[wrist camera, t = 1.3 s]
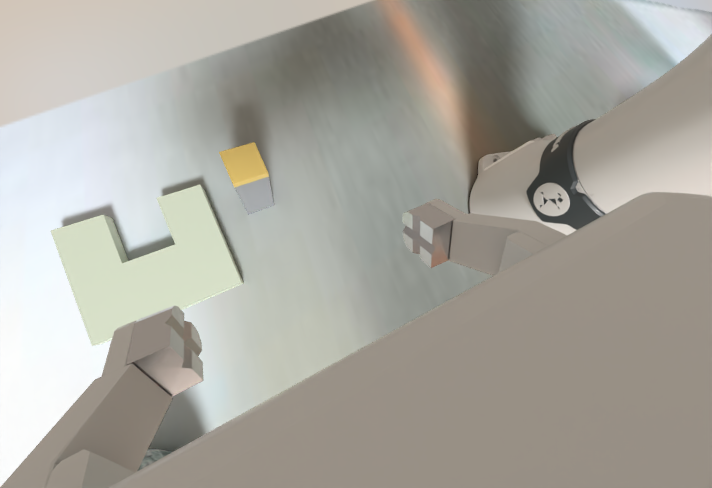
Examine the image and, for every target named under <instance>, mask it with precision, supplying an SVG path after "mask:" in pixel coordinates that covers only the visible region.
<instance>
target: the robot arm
mask: <svg viewBox="0 0 712 488" xmlns="http://www.w3.org/2000/svg"><path fill="white" fill-rule="evenodd" d="M493 161H494V162H493ZM402 222H403V223H404V224H405V225H406V226H405V228H404V230H403V239H404V242H405V244H406V246H407V247H408V249H409V250H410V251H411V252H413V253H416V254H420V259H421V260H422V261H423V262H424V263H425V264H427V265H428V266H429V267H430V268H433V267H435V266H437V265H439V264H441V263H443V262H446V261H448V260H449V261H451V262H454V263H457V264H460V265H463V266H466V267H469V268H472V269H475V270H478V271H481V272H484V273H487V274H490V275H493V276H492V277H490V278H489V279H487V280H485V281H483V282H481V283H479V284H478V285H476V286H474V287H472V288H470V289H469V290H467V291H465V292H463V293H461V294H459V295H458V296H456V297H454V298H452V299H450V300H449V301H447V302H445V303H443V304H441V305H439V306H438V307H436V308H434V309H432V310H430V311H429V312H427V313H425V314H423V315H421V316H419V317H418V318H416V319H414V320H412V321H410V322H408V323H407V324H405V325H403V326H401V327H399V328H398V329H396V330H394V331H392V332H390V333H388V334H387V335H385V336H383V337H381V338H379V339H378V340H376V341H374V342H372V343H370V344H368V345H367V346H365V347H363V348H361V349H359V350H357V351H356V352H354V353H352V354H350V355H348V356H347V357H345V358H343V359H341V360H339V361H337V362H336V363H334V364H332V365H330V366H328V367H327V368H325V369H323V370H321V371H319V372H317V373H316V374H314V375H312V376H310V377H308V378H306V379H305V380H303V381H301V382H299V383H297V384H296V385H294V386H292V387H290V388H288V389H286V390H285V391H283V392H281V393H279V394H277V395H276V396H274V397H272V398H270V399H268V400H266V401H265V402H263V403H261V404H259V405H257V406H256V407H254V408H252V409H250V410H248V411H246V412H245V413H243V414H241V415H239V416H237V417H235V418H234V419H232V420H230V421H228V422H226V423H225V424H223V425H221V426H219V427H217V428H215V429H214V430H212V431H210V432H208V433H206V434H205V435H203V436H201V437H199V438H197V439H195V440H194V441H192V442H190V443H188V444H186V445H185V446H183V447H181V448H179V449H177V450H175V451H174V452H172V453H170V454H168V455H166V456H164V457H163V458H161V459H159V460H157V461H155V462H154V463H152V464H150V465H148V466H146V467H144V468H143V469H141V470H139V471H138V469H139V467H140V465H141V462H142V460H143V458H144V456H145V454H146V452H147V450H148V448H149V446H150V444H151V442H152V440H153V438H154V436H155V434H156V432H157V430H158V428H159V426H160V424H161V422H162V420H163V418H164V416H165V414H166V412H167V410H168V408H169V406H170V404H171V401H172V399H173V398H172V397H173V396H175V395H177V394H179V393H181V392H183V391H184V390H186V389H188V388H190V387H192V386H194V385H196V384H198V383H200V382H202V381H203V362H202V361H201V360H200V358H199V357H198V356H199V354H200V352H201V351H202V345H201V340H200V337H199V333H198V332H197V330H196V328H195V327H194V325H193V324H192V323H191V322H187V321H184V313H183V312H182V310H181V309H180V308H179V307H178V306H172V307H169V308H167V309H164V310H162V311H159V312H156V313H154V314H151V315H149V316H146V317H143V318H141V319H138V320H137V321H133V322H131V323H128V324H126V325H123V326H121V327H118V328H117V329H116V330H115V331H114V333H113V337H112V341H111V344H110V348H109V352H108V355H107V359H106V363H105V366H104V370H103V373H102V377H100V378H98V379H95V380H94V381H93V383H92V384H91V385H90V386H89V387H88V388H87V389H86V390H85V392H84V393H83V394H82V395H81V396H80V397H79V398H78V400H77V401H76V402H75V403H74V404H73V405H72V406H71V408H70V409H69V410H68V411H67V412H66V413H65V414H64V416H63V417H62V418H61V419H60V420H59V421H58V422H57V424H56V425H55V426H54V427H53V428H52V429H51V430H50V431H49V433H48V434H47V435H46V436H45V437H44V438H43V439H42V441H41V442H40V443H39V444H38V445H37V446H36V447H35V449H34V450H33V451H32V452H31V453H30V454H29V455H28V457H27V458H26V459H25V460H24V461H23V462H22V463H21V465H20V466H19V467H18V468H17V469H16V470H15V471H14V472H13V474H12V475H11V476H10V477H9V478H8V479H7V480H6V482H5V483H4V484H3V485H2V486H1V487H0V488H712V34H711V35H710V36H709V37H708V38H707V39H706V40H705V41H704V42H703V43H702V44H701V45H700V46H699V47H698V48H696V49H695V50H694V51H693V52H692V53H691V54H690V55H688V56H687V57H686V58H685V59H684V60H682V61H681V62H680V63H679V64H677V65H676V66H675V67H673V68H672V69H671V70H670V71H668V72H667V73H665V74H664V75H663V76H661V77H660V78H658V79H657V80H655V81H654V82H653V83H651V84H650V85H648V86H647V87H645V88H644V89H642V90H641V91H639V92H638V93H636V94H635V95H633V96H632V97H630V98H629V99H627V100H626V101H624V102H623V103H621V104H620V105H618V106H616V107H615V108H613V109H612V110H610V111H609V112H607V113H605V114H604V115H602V116H600V117H599V118H597V119H591V120H588V121H585V122H583V123H581V124H579V125H577V126H575V127H572V128H570V129H569V130H567V131H565V132H564V133H562V134H561V135H560V136H559V137H556V135H555V134H551V135H548V136H546V137H544V138H542V139H541V138H536V139H534V140H531V141H529V142H527V143H525V144H523V145H522V146H520V147H518V148H517V149H515V150H513V151H509V152H502V153H495V154H488V155H485V156H484V157H482V158H480V160H479V163H478V177H477V179H476V181H475V183H474V185H473V188H472V191H471V195H470V213H469V214H465V213H463V212H462V211H460V210H458V209H456V208H454V207H452V206H451V205H449V204H447V203H445V202H443V201H442V200H440V199H434V200H432V201H430V202H427V203H425V204H424V205H421V206H419V207H417V208H414V209H412V210H409V211H407V212H404V213H403V216H402Z"/></svg>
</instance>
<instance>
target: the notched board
mask: <svg viewBox="0 0 712 488" xmlns="http://www.w3.org/2000/svg"><path fill="white" fill-rule="evenodd" d="M157 200H158V203H159V205H160V208H161V210H162V213H163V215H164V218H165V220H166V223H167V225H168V228H169V230H170V233H171V235H172V238H173V240H174V243H175V245H172V246H169V247H166V248H163V249H161V250H158V251H155V252H152V253H150V254H147V255H144V256H141V257H138V258H136V259H133V260H130V261H129V260H128V258H127V255H126V253H125V250H124V247H123V245H122V242H121V240H120V237H119V234H118V232H117V229H116V227H115V224H114V221H113V219H112V218H110V217H108V216H106V215H100V216H97V217H93V218H90V219H87V220H84V221H80V222H77V223H74V224H71V225H67V226H64V227H61V228H58V229H55V230H51V233H52V236H53V239H54V241H55V244H56V247H57V250H58V253H59V255H60V258H61V261H62V264H63V266H64V269H65V272H66V275H67V278H68V280H69V283H70V286H71V289H72V291H73V294H74V297H75V300H76V302H77V305H78V308H79V311H80V314H81V316H82V319H83V322H84V325H85V327H86V330H87V333H88V336H89V339H90V341H91V344H92V346H94V345H99V344H103V343H105V342H108V341H110V340H112V337H113V333H114V331H115V330H116V329H117V328H118V327H121V326H123V325H126V324H128V323H131V322H133V321H137V320H138V319H141V318H143V317H146V316H149V315H151V314H154V313H156V312H159V311H162V310H164V309H167V308H169V307H172V306H178V307H179V308H180V309H181V310H183V309H185V308H188V307H190V306H192V305H195V304H197V303H199V302H202V301H204V300H206V299H209V298H211V297H213V296H216V295H218V294H220V293H223V292H225V291H227V290H230V289H232V288H234V287H237V286H239V285H241V284H244V283H243V280H242V278H241V276H240V273H239V271H238V269H237V266H236V264H235V261H234V259H233V257H232V254H231V252H230V250H229V247H228V245H227V242H226V240H225V238H224V235H223V233H222V231H221V228H220V226H219V223H218V221H217V219H216V216H215V214H214V212H213V209H212V207H211V205H210V202H209V200H208V197H207V195H206V193H205V190H204V189H203V187H202V186H201V185H197V186H193V187H190V188H187V189H184V190H181V191H177V192H174V193H171V194H168V195H164V196H161V197H158V198H157Z"/></svg>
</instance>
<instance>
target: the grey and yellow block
mask: <svg viewBox="0 0 712 488" xmlns="http://www.w3.org/2000/svg"><path fill="white" fill-rule="evenodd" d="M219 153H220V155H221V158H222V160H223V162H224V165H225V167H226V169H227V172H228V174H229V176H230V179H231V181H232V183H233V185H234V187H235V189H236V191H237V193H238V195H239V197H240V199H241V201H242V203H243V205H244V207H245V209H246V211H247V213H248V214H251V213H254V212H257V211H260V210H262V209H265V208H268V207H271V206H274V202H273V196H272V191H271V186H270V180H269V175H268V171H267V169H266V167H265V165H264V162H263V160H262V158H261V156H260V153H259V151H258V149H257V147H256V144H255V142H253V143H250V144H246V145H243V146H239V147H236V148H232V149H228V150H225V151H221V152H219Z"/></svg>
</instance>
